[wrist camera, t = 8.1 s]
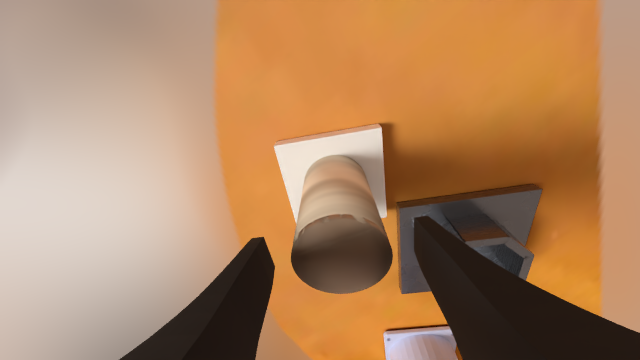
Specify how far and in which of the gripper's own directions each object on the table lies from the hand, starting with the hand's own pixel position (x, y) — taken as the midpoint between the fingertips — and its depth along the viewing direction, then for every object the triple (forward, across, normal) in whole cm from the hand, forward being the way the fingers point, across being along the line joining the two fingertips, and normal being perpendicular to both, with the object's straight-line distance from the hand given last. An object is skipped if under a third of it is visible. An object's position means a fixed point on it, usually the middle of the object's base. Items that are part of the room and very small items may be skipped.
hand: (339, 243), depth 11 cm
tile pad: (+7, 0, 0) cm, 7 cm away
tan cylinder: (+6, 0, 0) cm, 6 cm away
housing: (+7, -10, +8) cm, 14 cm away
